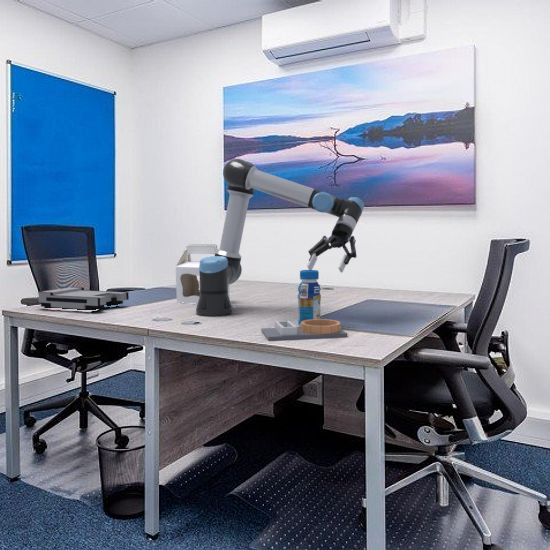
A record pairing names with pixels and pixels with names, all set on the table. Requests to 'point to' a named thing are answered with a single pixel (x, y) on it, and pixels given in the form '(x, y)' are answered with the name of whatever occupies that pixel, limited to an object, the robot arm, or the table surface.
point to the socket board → (299, 335)
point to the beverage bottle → (309, 296)
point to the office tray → (80, 298)
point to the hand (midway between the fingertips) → (324, 269)
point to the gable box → (191, 273)
